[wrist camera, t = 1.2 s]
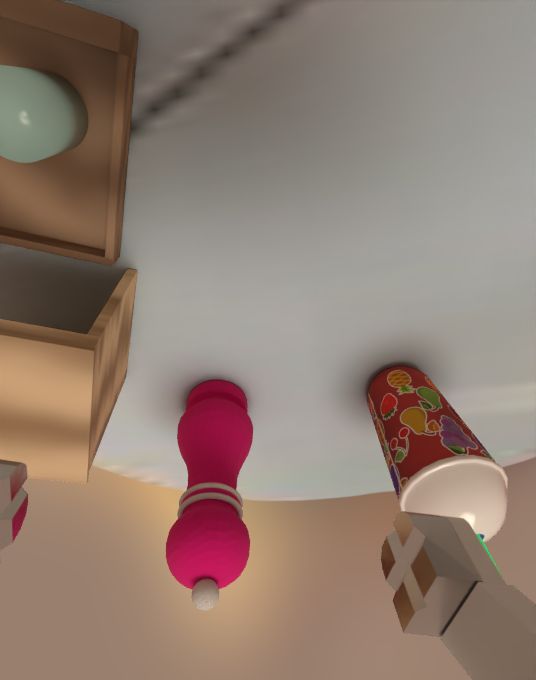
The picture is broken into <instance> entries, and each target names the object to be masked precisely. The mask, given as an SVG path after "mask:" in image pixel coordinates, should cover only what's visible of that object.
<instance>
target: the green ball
mask: <svg viewBox="0 0 536 680" xmlns="http://www.w3.org/2000/svg"><path fill="white" fill-rule="evenodd" d="M87 129H88V113H87V109H86V106H85V103H84V101H83V99H82V97H81V95H80V94H79V92H78V91H77V89H76V88H75V87H74V86H73V85H72V84H71V83H70V82H69V81H68V80H67V79H65V78H64V77H62V76H61V75H59V74H57V73H54V72H51V71H47V70H40V69H31V68H23V67H14V66H6V65H0V156H2V157H4V158H6V159H9V160H12V161H15V162H20V163H31V162H36V161H39V160H42V159H45V158H48V157H51V156H53V155H56V154H59V153H62V152H65V151H68V150H71V149H73V148H75V147H77V146H78V145H79V144H80V143H81V142H82V141H83V139H84V137H85V135H86V133H87Z"/></svg>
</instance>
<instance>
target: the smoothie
mask: <svg viewBox="0 0 536 680" xmlns="http://www.w3.org/2000/svg"><path fill="white" fill-rule="evenodd" d="M367 403H368V407H369V410H370V413H371V416H372V419H373V422H374V425H375V429H376V432H377V435H378V438H379V441H380V444H381V447H382V450H383V453H384V457H385V460H386V463H387V466H388V469H389V472H390V475H391V478H392V481H393V485H394V488H395V491H396V494H397V497H398V500H399V504H400V508H401V512H402V511H406V512H414V513H423V514H431V515H440V516H449V517H457V518H464V519H465V520H466V521H467V522H468V523H469V524H470V525H471V527H472V529H473V530H474V532H475V533H476V535H477V537H478V538H479V540H480V542H481V543H482V545H483V547H484V548H485V550H486V551H487V553H488V555H489V556H490V558H491V560H492V561H493V563H494V564H495V562H494V560H493V559H492V557H491V555H490V553H489V551H488V549H487V548H486V546H485V544H484V543H485V542H487V541H488V540H490V539H491V538H493V537H494V536H495V535H496V534H497V533H498V532H499V530H500V529H501V527H502V525H503V523H504V522H505V519H506V516H507V510H508V496H507V476H506V474H505V472H504V470H503V468H502V467H501V466H500V465H499V464H497V463H496V462H495V461H494V459H493V458H492V457H491V455H490V454H489V453H488V452H487V450H486V449H485V448H484V447H483V445H482V444H481V443H480V442H479V440H478V439H477V438H476V437H475V435H474V434H473V433H472V432H471V430H470V429H469V428H468V427H467V425H466V424H465V423H464V422H463V420H462V419H461V418H460V417H459V415H458V414H457V413H456V412H455V410H454V409H453V408H452V407H451V405H450V404H449V403H448V402H447V400H446V399H445V398H444V397H443V395H442V394H441V393H440V392H439V390H438V389H437V388H436V387H435V385H434V384H433V383H432V382H431V380H430V379H429V378H428V377H427V375H425V374H424V373H422V372H420V371H418V370H414V369H412V368H410V367H406V366H396V367H392V368H389V369H386V370H385V371H383V372H381V373H379V374H378V375H377V376H376V377H375V378H374V379H373V381H372V383H371V385H370V389H369V392H368V397H367ZM495 566H496V565H495ZM496 568H497V566H496ZM497 569H498V568H497ZM498 571H499V570H498ZM499 573H500V571H499ZM500 574H501V573H500ZM501 576H502V575H501ZM502 578H503V577H502Z"/></svg>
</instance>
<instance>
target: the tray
mask: <svg viewBox="0 0 536 680" xmlns="http://www.w3.org/2000/svg"><path fill="white" fill-rule="evenodd" d="M137 40H138V31H137V30H135V29H134V28H132V27H130V26H129V25H127V24H126V23H124V22H122V21H121V20H117V19H114V18H111V17H108V16H105V15H102V14H99V13H96V12H93V11H90V10H87V9H84V8H80V7H77V6H74V5H71V4H68V3H65V2H62V1H59V0H0V65H6V66H14V67H23V68H31V69H40V70H47V71H51V72H54V73H57V74H59V75H61V76H62V77H64V78H65V79H67V80H68V81H69V82H70V83H71V84H72V85H73V86H74V87H75V88H76V89H77V91H78V92H79V94H80V95H81V97H82V99H83V101H84V103H85V106H86V109H87V113H88V129H87V133H86V135H85V137H84V139H83V141H82V142H81V143H80V144H79V145H78V146H77V147H75V148H73V149H71V150H68V151H65V152H62V153H59V154H56V155H53V156H51V157H48V158H45V159H42V160H39V161H36V162H31V163H20V162H15V161H12V160H9V159H6V158H4V157H2V156H0V243H5V244H10V245H14V246H19V247H24V248H28V249H33V250H38V251H42V252H47V253H52V254H56V255H61V256H66V257H71V258H75V259H80V260H85V261H89V262H94V263H99V264H103V265H108V266H113V265H114V264H115V262H116V261H117V259H118V258H119V257H120V247H121V235H122V222H123V210H124V198H125V186H126V174H127V161H128V149H129V137H130V125H131V113H132V100H133V88H134V76H135V64H136V52H137Z"/></svg>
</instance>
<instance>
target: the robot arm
mask: <svg viewBox="0 0 536 680" xmlns="http://www.w3.org/2000/svg"><path fill="white" fill-rule="evenodd" d="M26 479H27V465H26V464H24V463H22V462H15V461H9V460H2V459H0V550H2V549H3V548H5V547H7V546H8V545H10V544H11V543H13V541H14V539H15V538H16V536H17V534H18V532H19V530H20V529H21V526H22V523H23V520H24V518H25V515H26V511H27V505H28V493H27V492H26V491H25V490H24V489H23V488H22V485H23V484H24V482H25V480H26ZM393 523H394V526H395V529H396V530H395V531H394V532H392V533H391V534H389V535H388V536H386V539H385V541H384V544H383V546H382V553H381V554H382V555H381V562H382V569H383V573H384V576H385V579H386V581H387V582H388V583H389V584H390V585H391V586H392V588H393V589H394V590H395V591H396V592H395V595H394V598H393V603H394V606H395V609H396V612H397V615H398V618H399V621H400V624H401V627H402V630H403V632H404V633H411V634H420V635H429V636H437V637H441V641H442V642H443V643H444V644H445V646H446V647H447V648H448V650H449V651H450V652H451V653H452V655H453V656H454V657H455V658H456V660H457V661H458V662H459V664H460V665H461V666H462V667H463V669H464V670H465V671H466V672H467V674H468V675H469V676H470V677H471V679H472V680H536V604H535V603H533V602H532V601H531V600H530V599H529V598H527V597H526V596H525V595H524V594H523V593H522V592H520V591H519V590H518V589H517V588H516V587H514V586H512V585H507V584H506V582H505V581H504V579H503V578H502V576H501V574H500V573H499V571H498V569H497V568H496V566H495V564H494V563H493V561H492V560H491V558H490V556H489V555H488V553H487V551H486V550H485V548H484V547H483V545H482V543H481V542H480V540H479V538H478V537H477V535H476V533H475V532H474V530H473V529H472V527H471V525H470V524H469V523H468V522H467V521H466V520H465V519H464V518H457V517H449V516H440V515H431V514H423V513H414V512H406V511H402V512H400V513H399V514H398V515H397V516H396V518H395V520H394V522H393Z"/></svg>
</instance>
